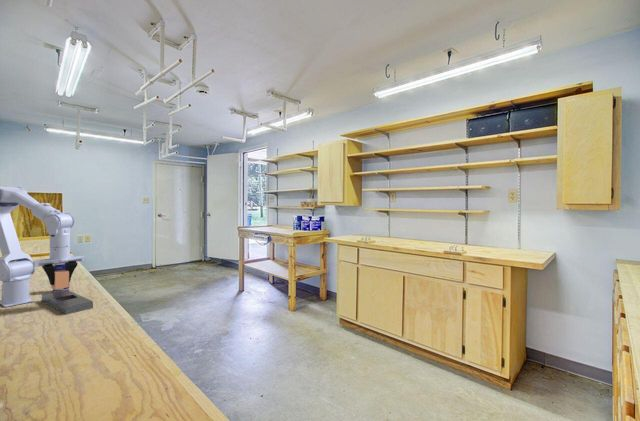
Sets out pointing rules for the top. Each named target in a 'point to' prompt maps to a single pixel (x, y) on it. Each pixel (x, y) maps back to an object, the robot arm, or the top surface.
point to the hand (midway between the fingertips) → (60, 283)
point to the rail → (67, 301)
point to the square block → (61, 279)
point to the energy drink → (57, 267)
